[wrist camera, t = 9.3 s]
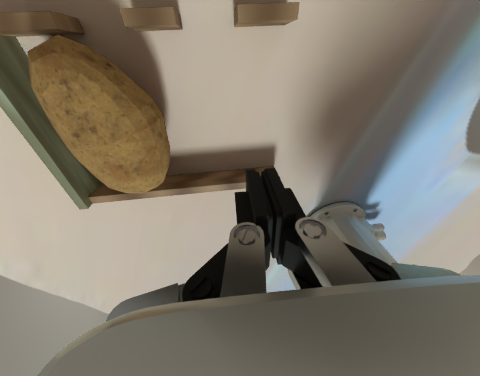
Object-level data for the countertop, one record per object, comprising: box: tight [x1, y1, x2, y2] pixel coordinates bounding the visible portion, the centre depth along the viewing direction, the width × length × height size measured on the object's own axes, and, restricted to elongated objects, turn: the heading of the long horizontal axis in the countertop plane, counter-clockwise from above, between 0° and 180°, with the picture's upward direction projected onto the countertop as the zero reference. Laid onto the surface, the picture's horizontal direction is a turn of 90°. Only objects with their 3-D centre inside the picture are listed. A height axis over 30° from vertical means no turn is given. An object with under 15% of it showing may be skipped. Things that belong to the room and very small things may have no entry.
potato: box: [28, 35, 170, 193], centre depth 18 cm, size 10×14×8 cm
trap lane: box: [0, 2, 299, 209], centre depth 20 cm, size 26×18×4 cm
